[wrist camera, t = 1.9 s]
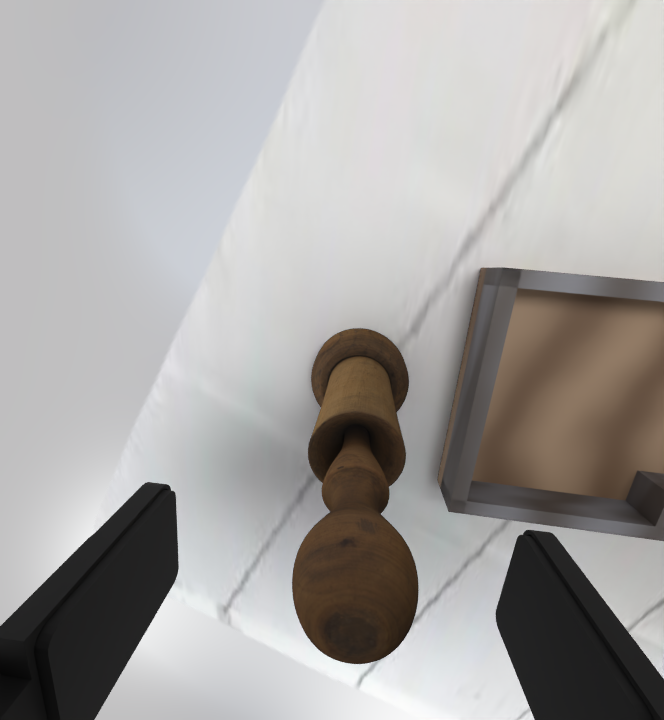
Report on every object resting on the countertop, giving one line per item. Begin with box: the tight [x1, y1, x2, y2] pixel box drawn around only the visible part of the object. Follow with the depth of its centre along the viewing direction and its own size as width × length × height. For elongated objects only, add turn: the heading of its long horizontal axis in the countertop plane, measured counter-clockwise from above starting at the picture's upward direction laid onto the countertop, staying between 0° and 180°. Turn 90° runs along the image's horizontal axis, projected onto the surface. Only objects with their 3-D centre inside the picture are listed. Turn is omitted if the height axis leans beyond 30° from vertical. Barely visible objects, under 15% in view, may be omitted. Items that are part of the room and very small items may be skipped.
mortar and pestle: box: [292, 329, 418, 664], centre depth 15 cm, size 7×6×18 cm
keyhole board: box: [437, 268, 664, 541], centre depth 21 cm, size 24×16×4 cm, turn 85°
